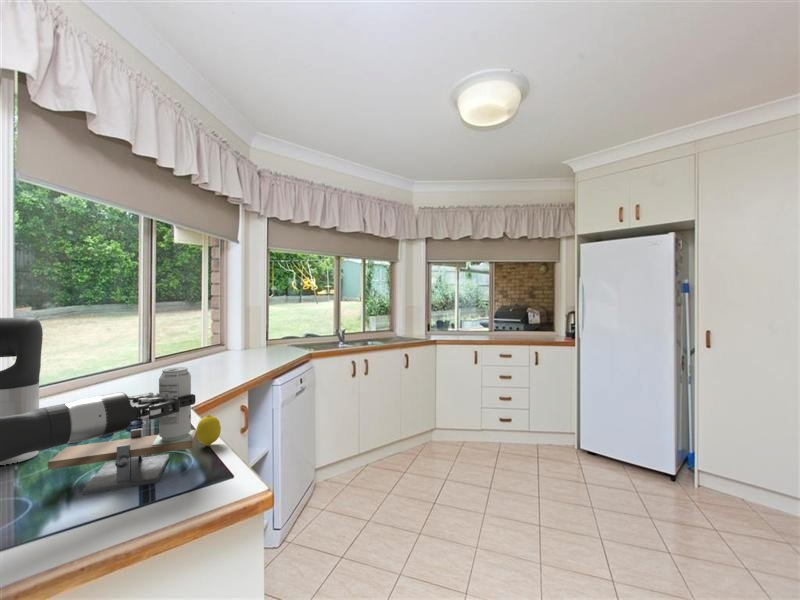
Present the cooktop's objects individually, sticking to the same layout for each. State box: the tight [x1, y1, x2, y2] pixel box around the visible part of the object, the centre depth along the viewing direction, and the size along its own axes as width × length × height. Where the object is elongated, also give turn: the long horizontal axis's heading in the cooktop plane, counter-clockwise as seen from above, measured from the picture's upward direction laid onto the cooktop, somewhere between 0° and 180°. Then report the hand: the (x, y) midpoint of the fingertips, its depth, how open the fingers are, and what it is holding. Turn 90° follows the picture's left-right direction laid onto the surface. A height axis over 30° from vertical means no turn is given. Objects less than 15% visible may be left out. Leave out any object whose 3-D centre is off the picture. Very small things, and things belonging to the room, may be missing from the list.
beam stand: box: [82, 427, 170, 496], centre depth 78 cm, size 12×13×8 cm
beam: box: [47, 429, 197, 471], centre depth 78 cm, size 24×8×2 cm, turn 113°
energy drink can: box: [158, 366, 192, 441], centre depth 81 cm, size 6×6×15 cm
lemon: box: [196, 414, 222, 447], centre depth 94 cm, size 6×6×8 cm
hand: (186, 396), depth 83 cm, fingers closed on energy drink can, 6 cm apart
